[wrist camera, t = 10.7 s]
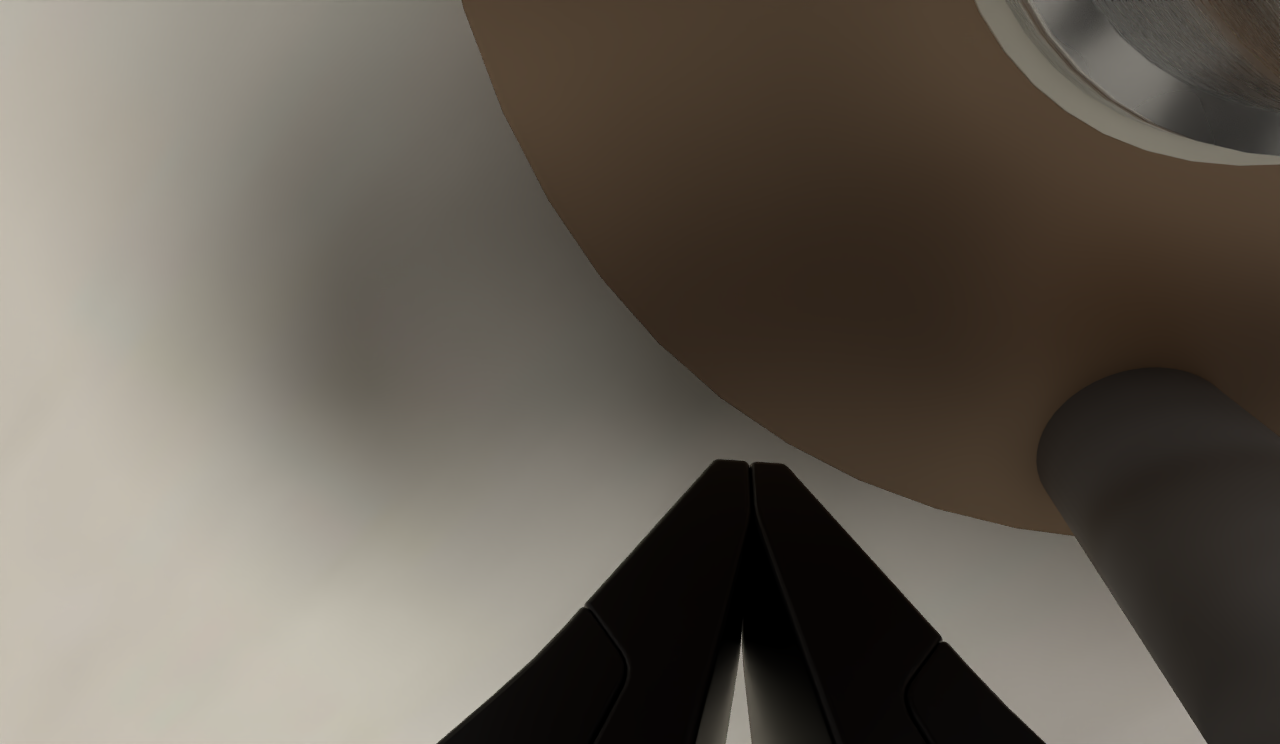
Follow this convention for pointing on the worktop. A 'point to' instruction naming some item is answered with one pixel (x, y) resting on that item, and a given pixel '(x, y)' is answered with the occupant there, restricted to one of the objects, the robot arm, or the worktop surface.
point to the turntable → (943, 281)
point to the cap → (1170, 63)
